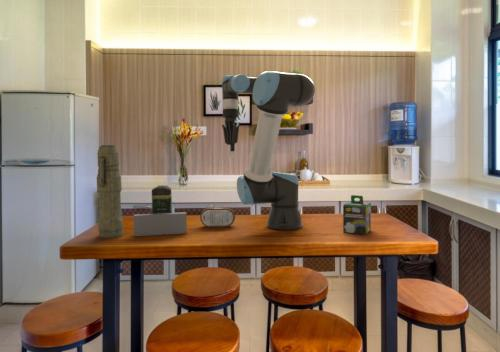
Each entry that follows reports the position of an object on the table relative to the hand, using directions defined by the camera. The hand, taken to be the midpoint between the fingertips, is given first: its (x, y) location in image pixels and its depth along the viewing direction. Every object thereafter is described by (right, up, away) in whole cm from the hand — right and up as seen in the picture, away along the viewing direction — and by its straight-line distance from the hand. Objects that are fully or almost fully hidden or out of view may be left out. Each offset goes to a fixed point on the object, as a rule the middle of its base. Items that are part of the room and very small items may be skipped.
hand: (231, 158), depth 172 cm
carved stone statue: (-45, -32, -33) cm, 65 cm away
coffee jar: (-27, -31, -25) cm, 48 cm away
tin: (-5, -31, -18) cm, 36 cm away
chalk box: (+52, -31, -29) cm, 67 cm away
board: (-26, -32, -31) cm, 52 cm away
